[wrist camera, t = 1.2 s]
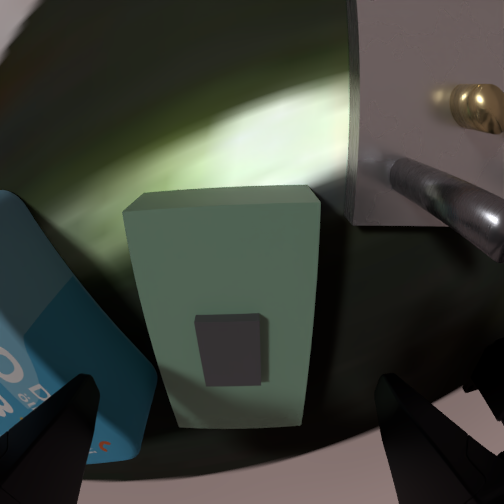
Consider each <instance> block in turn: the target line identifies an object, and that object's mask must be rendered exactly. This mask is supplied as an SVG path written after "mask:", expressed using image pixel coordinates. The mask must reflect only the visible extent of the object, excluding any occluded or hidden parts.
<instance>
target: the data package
mask: <svg viewBox="0 0 504 504" xmlns="http://www.w3.org/2000/svg"><path fill="white" fill-rule="evenodd" d="M80 373H84V374H90V375H91V376H93V378H94V380H95V383H96V385H97V387H98V389H99V391H100V401H99V406H98V412H97V418H96V424H95V430H94V435H93V440H92V444H91V447H90V451H89V455H88V459H87V462H86V464H95V463H105V462H114V461H122V460H129V459H132V458H134V457H136V456H137V455H138V453H139V451H140V448H141V443H142V439H143V435H144V431H145V427H146V423H147V419H148V415H149V411H150V407H151V404H152V400H153V396H154V392H155V388H156V385H157V373H156V370H155V368H154V366H153V365H152V363H151V362H150V361H149V360H148V359H147V358H146V357H145V356H144V355H143V354H142V353H141V352H140V351H139V349H138V348H137V347H136V346H135V345H134V344H133V343H132V342H131V341H130V340H129V339H128V338H127V337H126V336H125V334H124V333H123V332H122V331H121V330H120V329H119V328H118V327H117V326H116V325H115V323H114V322H113V321H112V320H111V319H110V318H109V317H108V315H107V314H106V313H105V312H104V311H103V310H102V308H101V307H100V306H99V305H98V304H97V302H96V301H95V300H94V299H93V298H92V296H91V295H90V294H89V293H88V292H87V290H86V289H85V288H84V287H83V285H82V284H81V283H80V282H79V280H78V279H77V278H76V276H75V275H74V274H73V273H72V271H71V270H70V269H69V267H68V266H67V265H66V263H65V262H64V261H63V259H62V258H61V257H60V255H59V254H58V252H57V251H56V250H55V248H54V247H53V245H52V244H51V243H50V241H49V240H48V238H47V237H46V235H45V234H44V233H43V231H42V230H41V228H40V227H39V225H38V224H37V222H36V221H35V219H34V218H33V216H32V214H31V213H30V211H29V210H28V208H27V207H26V205H25V204H24V202H23V201H22V200H21V199H20V198H19V197H18V196H16V195H15V194H14V193H12V192H9V191H5V190H0V436H1V435H3V434H4V433H5V432H6V431H9V429H10V428H11V427H13V426H14V425H15V424H16V423H18V422H19V421H20V420H21V419H23V418H24V417H25V416H26V415H28V414H29V413H30V412H31V411H33V410H34V409H35V408H36V407H38V406H39V405H40V404H41V403H43V402H44V401H45V400H47V399H48V398H49V397H50V396H52V395H53V394H54V393H55V392H57V391H58V390H59V389H60V388H62V387H63V386H64V385H65V384H67V383H68V382H69V381H70V380H72V379H73V378H74V377H76V376H77V375H78V374H80Z"/></svg>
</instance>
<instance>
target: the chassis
mask: <svg viewBox="0 0 504 504" xmlns="http://www.w3.org/2000/svg"><path fill="white" fill-rule="evenodd" d="M347 14H348V33H349V66H350V112H349V147H348V168H347V184H346V199H345V211H344V216H345V217H346V218H347V219H348V221H349V222H350V223H351V224H352V225H354V226H446V227H450V228H452V229H453V230H455V231H456V232H457V233H459V234H460V235H461V236H463V237H464V238H466V239H467V240H468V241H470V242H471V243H472V244H474V245H475V246H476V247H478V248H479V249H480V250H481V251H483V252H484V253H485V254H487V255H488V256H489V257H490V258H492V259H493V260H494V261H496V262H498V263H504V0H347Z"/></svg>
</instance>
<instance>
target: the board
mask: <svg viewBox="0 0 504 504" xmlns="http://www.w3.org/2000/svg"><path fill="white" fill-rule="evenodd" d="M320 211H321V202H320V201H319V199H318V198H317V197H316V196H315V194H314V193H313V192H312V190H311V189H310V188H309V187H308V185H272V186H243V187H221V188H203V189H187V190H173V191H160V192H148V193H143V194H142V195H141V196H140V197H138V198H137V199H136V200H135V201H134V202H133V203H132V204H131V205H129V206H128V207H127V208H126V209H125V210H124V211H123V212H122V213H123V219H124V225H125V231H126V236H127V241H128V247H129V252H130V257H131V261H132V266H133V271H134V275H135V280H136V284H137V289H138V293H139V297H140V301H141V305H142V309H143V313H144V317H145V321H146V325H147V328H148V332H149V336H150V339H151V343H152V346H153V350H154V353H155V357H156V360H157V363H158V366H159V370H160V373H161V376H162V379H163V382H164V385H165V388H166V391H167V394H168V397H169V400H170V403H171V406H172V409H173V412H174V415H175V417H176V420H177V423H178V426H179V427H181V428H207V429H247V428H272V427H288V426H300V425H301V424H302V417H303V409H304V402H305V394H306V386H307V378H308V370H309V361H310V351H311V342H312V332H313V321H314V309H315V297H316V284H317V269H318V253H319V234H320Z"/></svg>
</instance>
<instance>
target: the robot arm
mask: <svg viewBox="0 0 504 504" xmlns="http://www.w3.org/2000/svg"><path fill="white" fill-rule="evenodd" d="M471 379H472V380H473V382H472V383H470V384H468V385H466V386H464V387H463V388H462V389H463V390H464V392H465V393H469V392H472V391H475V390H479V391H480V393H481V394H482V396H483V397H484V399H485V401H486V403H487V404H488V406H489V408H490V409H491V411H492V413H493V414H494V416H495V418H496V420H497V421H502V423H503V425H504V338H502V339H498V340H496V341H495V342H494V344H493V345H489V346H488V347H487V348H486V349H485V350H484V352H483V354H482V356H481V358H480V360H479V362H478V364H477V366H476V368H475V370H474V372H473V374H472V376H471ZM99 401H100V391H99V389H98V387H97V385H96V383H95V380H94V378H93V376H91V375H90V374H84V373H80V374H78V375H77V376H76V377H74V378H73V379H72V380H70V381H69V382H68V383H67V384H65V385H64V386H63V387H62V388H60V389H59V390H58V391H57V392H55V393H54V394H53V395H52V396H50V397H49V398H48V399H47V400H45V401H44V402H43V403H41V404H40V405H39V406H38V407H36V408H35V409H34V410H33V411H31V412H30V413H29V414H28V415H26V416H25V417H24V418H23V419H21V420H20V421H19V422H18V423H16V424H15V425H14V426H13V427H11V428H10V429H9V431H6V432H5V433H4V434H3V435H1V436H0V504H77V501H78V496H79V492H80V487H81V483H82V479H83V475H84V470H85V466H86V462H87V459H88V455H89V451H90V447H91V444H92V440H93V435H94V430H95V424H96V418H97V412H98V406H99ZM375 403H376V408H377V414H378V420H379V426H380V432H381V437H382V441H383V445H384V449H385V452H386V456H387V459H388V463H389V466H390V470H391V474H392V478H393V482H394V485H395V489H396V493H397V497H398V501H399V504H504V451H503V452H501V453H499V454H498V455H497V456H496V455H495V454H493V453H492V452H490V451H489V450H487V449H486V448H485V447H483V446H482V445H481V444H480V443H478V442H477V441H476V440H474V439H473V438H472V437H471V436H470V435H468V434H467V433H466V432H465V431H464V430H462V429H461V428H460V427H459V426H457V425H456V424H455V423H454V422H452V421H451V420H450V419H449V418H448V417H446V416H445V415H444V414H443V413H442V412H441V411H439V410H438V409H437V408H436V407H434V406H433V405H432V404H431V403H430V402H428V401H427V400H426V399H425V398H424V397H422V396H421V395H420V394H419V393H418V392H416V391H415V390H414V389H413V388H412V387H410V386H409V385H408V384H407V383H406V382H404V381H403V380H402V379H401V378H399V377H398V376H397V375H396V374H394V373H389V374H383V375H381V377H380V379H379V382H378V384H377V387H376V390H375Z"/></svg>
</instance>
